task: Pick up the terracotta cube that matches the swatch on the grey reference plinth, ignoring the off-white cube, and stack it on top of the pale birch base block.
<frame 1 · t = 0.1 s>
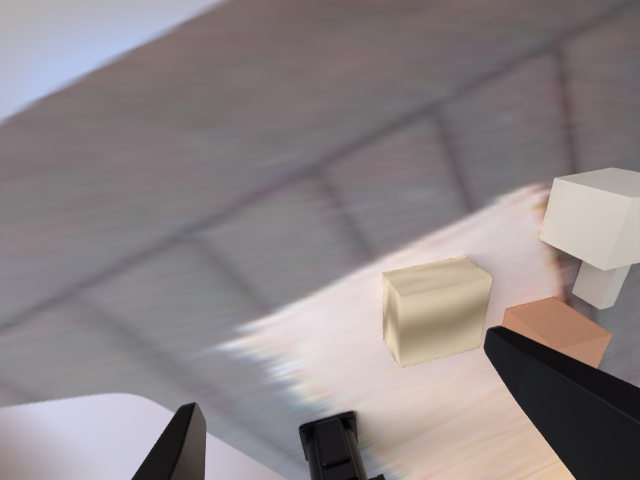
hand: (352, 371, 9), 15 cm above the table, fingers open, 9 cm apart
offwhite cube: (573, 204, 27), on the table
terracotta cube: (524, 322, 33), on the table
base block: (420, 297, 28), on the table
reference plinth: (588, 260, 31), on the table
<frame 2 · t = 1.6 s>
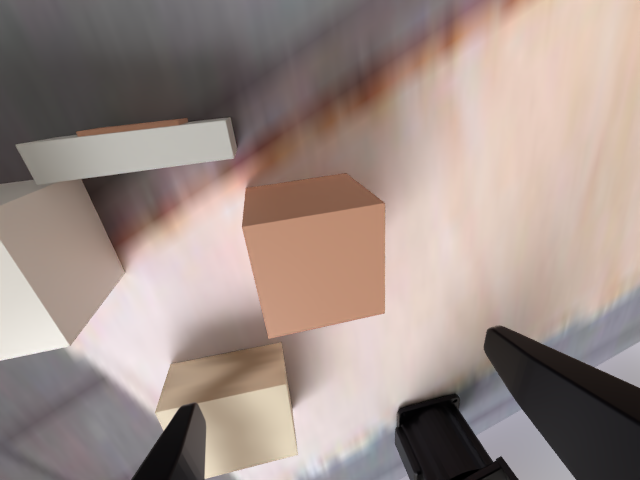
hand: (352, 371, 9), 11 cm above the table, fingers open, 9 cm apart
offwhite cube: (44, 236, 16), on the table
terracotta cube: (303, 226, 19), on the table
base block: (237, 386, 24), on the table
reference plinth: (154, 143, 15), on the table
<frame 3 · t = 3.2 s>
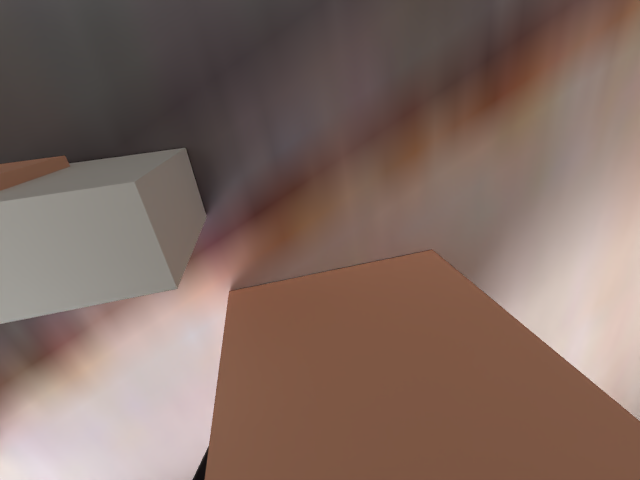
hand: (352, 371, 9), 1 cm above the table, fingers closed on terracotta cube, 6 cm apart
terracotta cube: (343, 345, 10), on the table, touching gripper
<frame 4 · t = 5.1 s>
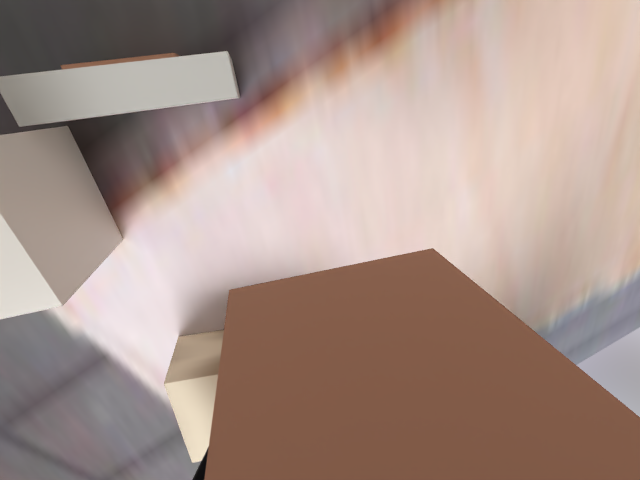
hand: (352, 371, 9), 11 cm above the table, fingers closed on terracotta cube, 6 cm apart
offwhite cube: (34, 198, 15), on the table
terracotta cube: (343, 344, 10), point 10 cm above the table, touching gripper
base block: (245, 364, 22), on the table
reference plinth: (149, 90, 14), on the table
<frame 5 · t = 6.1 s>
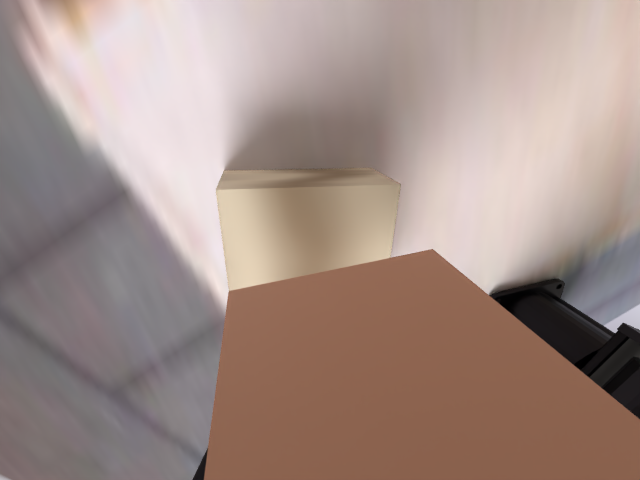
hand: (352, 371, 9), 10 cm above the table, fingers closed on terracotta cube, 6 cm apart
terracotta cube: (343, 345, 10), point 9 cm above the table, touching gripper
base block: (300, 234, 18), on the table
when the fingers open (6 cm above the table, at t = 7.1 s): terracotta cube drops 2 cm, point 4 cm above the table.
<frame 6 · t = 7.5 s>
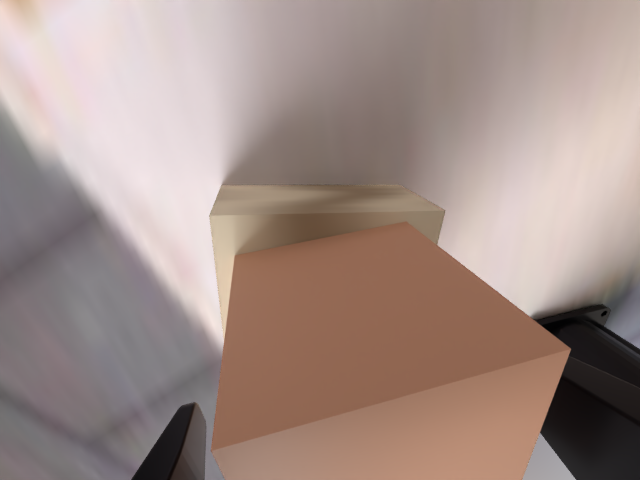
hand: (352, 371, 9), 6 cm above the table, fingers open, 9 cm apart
terracotta cube: (332, 307, 11), point 4 cm above the table
base block: (311, 260, 15), on the table
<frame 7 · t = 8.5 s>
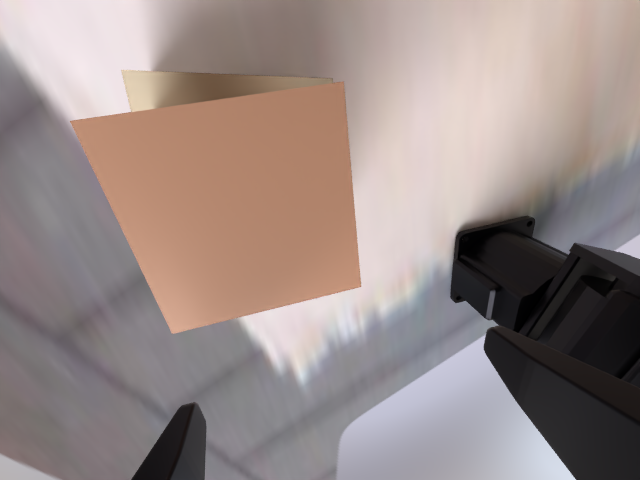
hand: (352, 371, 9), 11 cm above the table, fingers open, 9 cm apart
terracotta cube: (248, 175, 13), point 4 cm above the table, touching base block
base block: (244, 160, 17), on the table, touching terracotta cube
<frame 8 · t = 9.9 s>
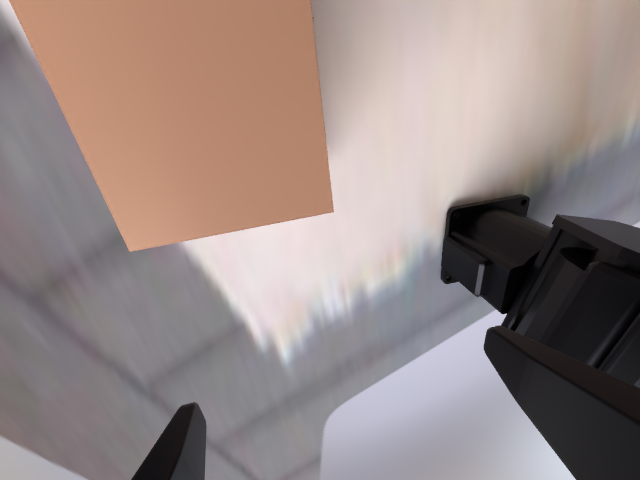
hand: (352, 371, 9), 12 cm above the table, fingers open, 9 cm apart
terracotta cube: (226, 115, 13), point 4 cm above the table, touching base block
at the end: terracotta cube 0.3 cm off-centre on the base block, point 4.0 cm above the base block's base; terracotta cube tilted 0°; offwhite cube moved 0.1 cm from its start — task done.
